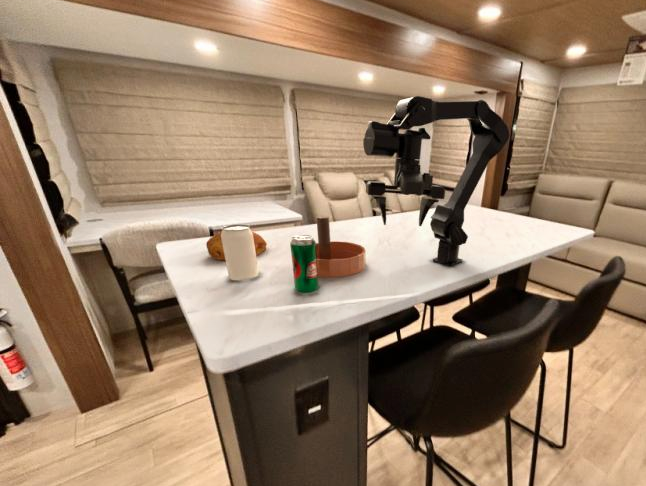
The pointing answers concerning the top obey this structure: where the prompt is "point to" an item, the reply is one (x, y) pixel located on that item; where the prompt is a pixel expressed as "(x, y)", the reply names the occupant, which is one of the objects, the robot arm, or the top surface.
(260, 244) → the croissant
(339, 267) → the bowl
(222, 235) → the can
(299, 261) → the soda can
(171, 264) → the top surface
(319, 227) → the brown tall block
